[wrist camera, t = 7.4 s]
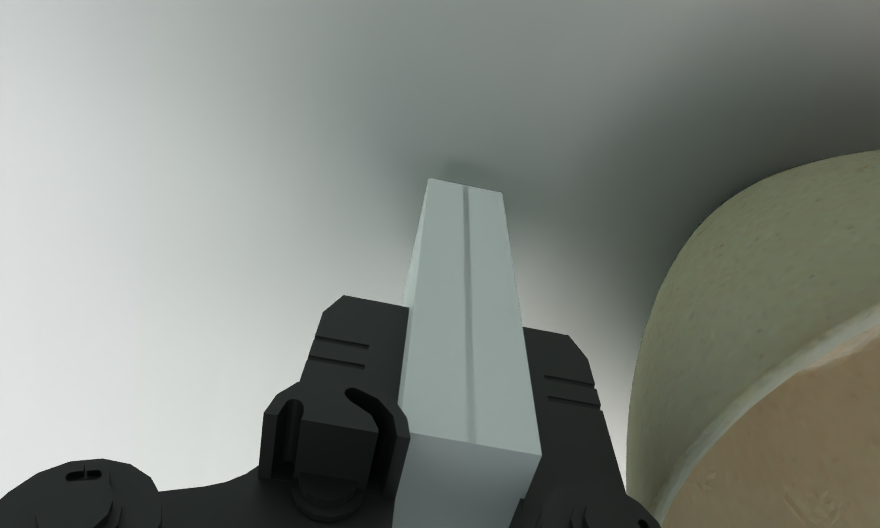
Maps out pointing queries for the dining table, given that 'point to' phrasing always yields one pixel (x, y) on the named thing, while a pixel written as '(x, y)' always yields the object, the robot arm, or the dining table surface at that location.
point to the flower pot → (767, 360)
